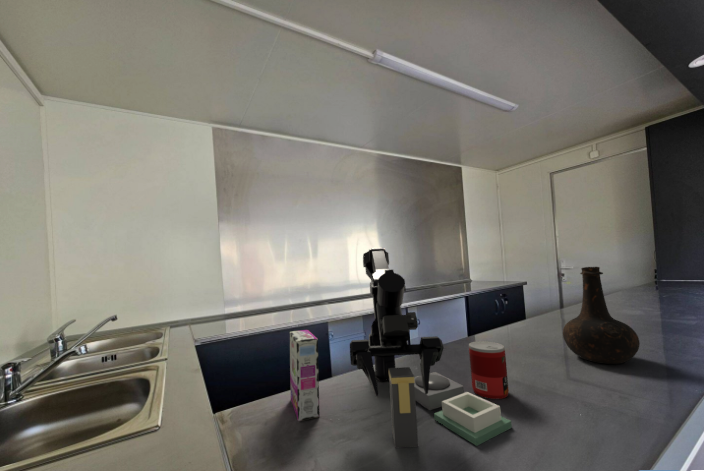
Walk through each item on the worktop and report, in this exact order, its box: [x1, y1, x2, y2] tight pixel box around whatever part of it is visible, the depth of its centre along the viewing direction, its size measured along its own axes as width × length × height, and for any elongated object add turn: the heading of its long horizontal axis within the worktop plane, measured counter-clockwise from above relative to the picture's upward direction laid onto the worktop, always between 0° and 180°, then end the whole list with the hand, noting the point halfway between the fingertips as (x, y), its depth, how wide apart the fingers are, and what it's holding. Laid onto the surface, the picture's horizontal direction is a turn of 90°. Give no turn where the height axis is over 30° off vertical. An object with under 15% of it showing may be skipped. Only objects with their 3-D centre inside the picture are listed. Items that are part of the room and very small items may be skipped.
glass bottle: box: [562, 266, 640, 365], centre depth 88 cm, size 18×18×28 cm
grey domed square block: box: [414, 371, 465, 411], centre depth 69 cm, size 10×10×3 cm
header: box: [433, 391, 513, 447], centre depth 57 cm, size 10×10×4 cm
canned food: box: [468, 340, 509, 400], centre depth 70 cm, size 8×8×11 cm
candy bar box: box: [289, 329, 321, 422], centre depth 66 cm, size 11×5×16 cm, turn 21°
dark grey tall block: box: [388, 366, 419, 449], centre depth 52 cm, size 5×4×12 cm
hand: (401, 394), depth 53 cm, fingers open, 9 cm apart
